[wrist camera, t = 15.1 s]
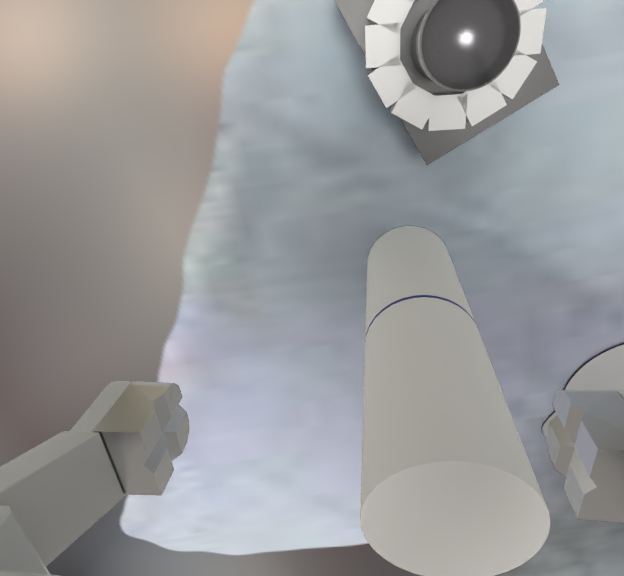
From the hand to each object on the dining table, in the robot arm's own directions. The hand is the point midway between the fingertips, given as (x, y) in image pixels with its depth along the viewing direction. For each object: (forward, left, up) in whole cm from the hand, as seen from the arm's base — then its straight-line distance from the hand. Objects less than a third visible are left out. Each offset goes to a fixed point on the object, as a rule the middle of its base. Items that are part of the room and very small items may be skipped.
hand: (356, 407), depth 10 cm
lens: (+4, -8, -24) cm, 26 cm away
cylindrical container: (-10, +2, -29) cm, 31 cm away
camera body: (+4, -8, -29) cm, 30 cm away
